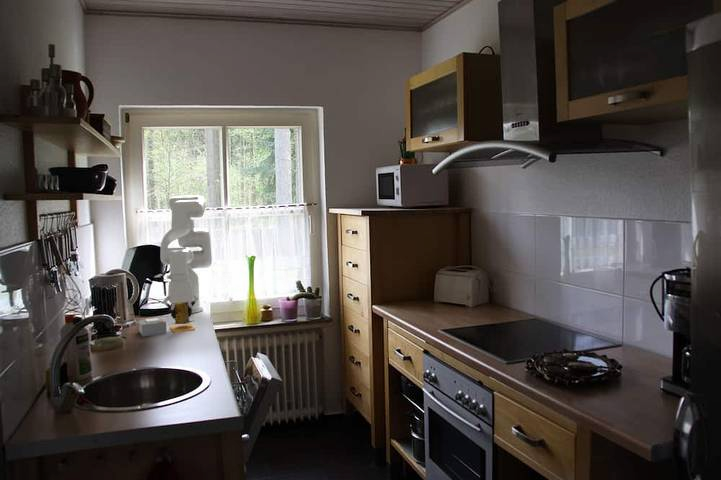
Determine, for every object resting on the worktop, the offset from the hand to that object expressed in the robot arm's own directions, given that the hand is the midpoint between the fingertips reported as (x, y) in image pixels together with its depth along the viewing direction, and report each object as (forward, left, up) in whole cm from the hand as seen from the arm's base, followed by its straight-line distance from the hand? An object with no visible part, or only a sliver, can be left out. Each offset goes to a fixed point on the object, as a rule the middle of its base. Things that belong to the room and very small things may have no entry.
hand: (181, 316), depth 269 cm
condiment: (0, +1, -3) cm, 3 cm away
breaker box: (0, -13, -5) cm, 14 cm away
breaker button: (0, -13, -4) cm, 13 cm away
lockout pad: (0, 0, -5) cm, 5 cm away
